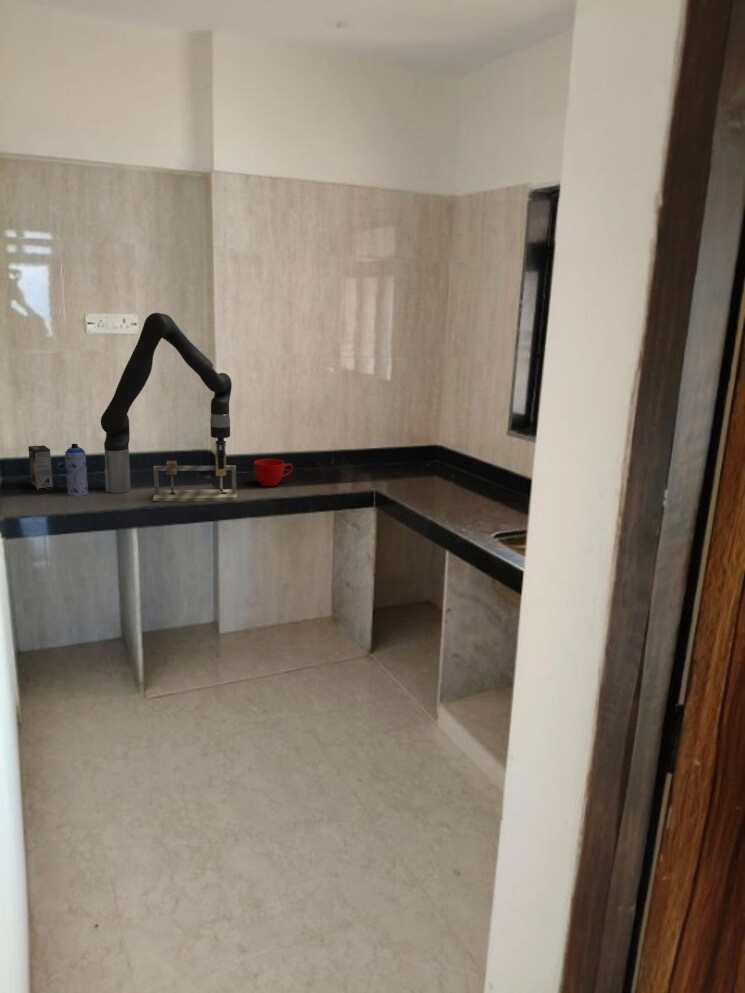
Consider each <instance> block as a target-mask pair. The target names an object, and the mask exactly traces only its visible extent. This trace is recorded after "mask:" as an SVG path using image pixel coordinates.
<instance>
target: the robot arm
mask: <svg viewBox="0 0 745 993" xmlns="http://www.w3.org/2000/svg"><path fill="white" fill-rule="evenodd" d="M161 339H163V340H164V341H166V342H168V343H169V344H170V345H171V346H172V347H173V348H174V349H175V350H176V351H177V352H178V353H179V355H180V356H181V358H182V359H183V360H184V362H185V363H186V365H188V366H189V368H191V369H192V371H194V372H195V373H196V374H197V375H198V376H199V378H200V379H201V381H202V382H203V384H204V385H205V386H206V387H207V389H208V390H210V391H211V392H213V393H214V394H213V398H212V399H211V400H210V422H209V424H210V436H211V438H212V439H213V438H214V439H216V440H215V454H216V453H217V454H218V457H217V459H218V469H224V454H225V452H226V446H227V442H226V440H225V439H227V438H230V436H231V417H230V398H231V393H232V387H233V386H232V380H231V377H230V375H229V374H228V373H225V372H219V373H218V372H217V371H216V370H215V369H214V364H213V363H212V361H211V360H210V359H209V358H207V356H206V355H205V354H204V353H202V352H201V351H200V349H198V348H197V347H196V345H194V343H192V342H191V340H189V339H188V337H186V335H185V334H184V333H183V331H182V330H181V329H180V328H179V326H178V325H177V323H176V322H175V321H174V320H173V319H172V317H171V316H169V315H168V314H166V313H161V312H153V313H151V314H149V315H148V316H147V317H146V318H145V320H144V323H143V326H142V329H141V332H140V335H139V338H138V341H137V343H136V345H135V347H134V349H133V351H132V353H131V355H130V358H129V360H128V361H127V364H126V365H125V367H124V370H123V372H122V374H121V377H120V379H119V380H118V381H119V382H118V384H117V386H116V389H115V391H114V395H113V396H112V399H111V401H110V402H109V403H108V406H107V407H106V408H105V411H103V413H102V416H101V418H100V425H101V429H102V430H103V431H104V432H105V438H104V443H103V447H104V449H103V450H104V464H105V465H104V466H105V467H104V482H105V483H104V485H105V492H106V493H112V494H113V493H115V494H121V493H128V492H130V491H131V490H132V489H131V486H132V484H131V468H130V450H129V448H130V447H129V443H130V435H131V434H130V419H129V415H128V413H129V411H130V408H131V406H132V405H133V403H134V402H135V400H136V399H137V398H138V397H139V395H140V394H141V392H142V390H144V387H145V385H146V383H147V382H148V380H149V377H150V376H151V373H152V370H153V361H154V355H155V354H154V353H155V351H156V349H157V346H159V343H160V341H161ZM219 454H223V456H219Z"/></svg>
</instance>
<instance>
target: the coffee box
mask: <svg viewBox="0 0 745 993" xmlns="http://www.w3.org/2000/svg"><path fill="white" fill-rule="evenodd" d="M51 456H52V454H51V449H50V448H48V447H47V446H46V445H29V446H28V458H29V469H30V479H31V480H30V481H31V485H32V484H33V485H34V486H35V487H36V488H37V489H36V488H35V487H34V486H33V485H32V486H33V487H34V488H35V489H36V490H40V489H39V488H46V487H53V488H54V486H53V483H54V482H53V474H52V472H53V471H52V457H51ZM46 489H47V488H46Z"/></svg>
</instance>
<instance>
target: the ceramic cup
mask: <svg viewBox="0 0 745 993" xmlns="http://www.w3.org/2000/svg"><path fill="white" fill-rule="evenodd" d="M288 466H290V470H289V471H288V472H286V473H284V471H285V468H286V467H288ZM253 469H254V474H255V477H256V479H257V481H258V483H259V484H260V485H261V486H262V485H263V487H267V486H271V487H276V486H277V485H278V484H279V483H280V482H281V480H282V479H283V477H286V476H288V475H290V474H291V473H292V472H293V469H294V466H293V465H292V463H285V461H284V460H281V459H277V458H261V459H257V460H255V461H253ZM275 485H276V486H275Z"/></svg>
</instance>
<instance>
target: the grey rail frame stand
mask: <svg viewBox="0 0 745 993" xmlns="http://www.w3.org/2000/svg"><path fill="white" fill-rule="evenodd" d="M177 462H178V461H177V460H167V461H166V465H153V485H154V487H153V488H154V494H153V498H152V502H153V501H171V503H175V502H176V503H179V502H180V501H181V503H184V502H191V503H193V502H237V501H238V495H237V494H238V492H237V465H229V464H228V465H227V464H226V471H231V488H229V489H228V488H227V489H224V488H223V492H220V489H174V488H175V486H174V485H175V484H174V476H177V473H178V471H179V472H180V471H183V472H184V471H185V472H187V471H188V472H189V471H191V472H193V471H194V472H195V471H198V472H199V471H200V472H201V471H216V465H178V464H177ZM163 471H164V472H166V476H168V475H169V476H170V489H162V490H161V489H160V485H159V484H160V483H159V482H160V480H159V478H160V477H159V472H163ZM172 501H173V502H172ZM177 501H179V502H177ZM182 501H183V502H182Z"/></svg>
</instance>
